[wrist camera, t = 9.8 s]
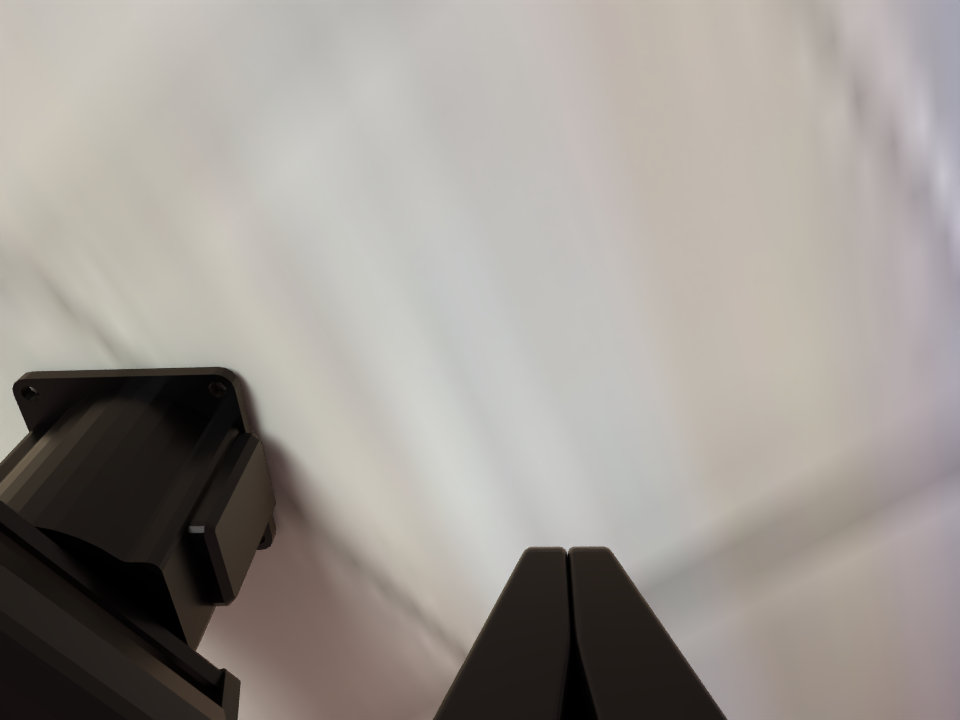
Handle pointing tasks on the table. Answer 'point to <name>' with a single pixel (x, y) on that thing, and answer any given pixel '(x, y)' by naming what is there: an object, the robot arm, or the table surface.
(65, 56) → the table surface
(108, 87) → the table surface
